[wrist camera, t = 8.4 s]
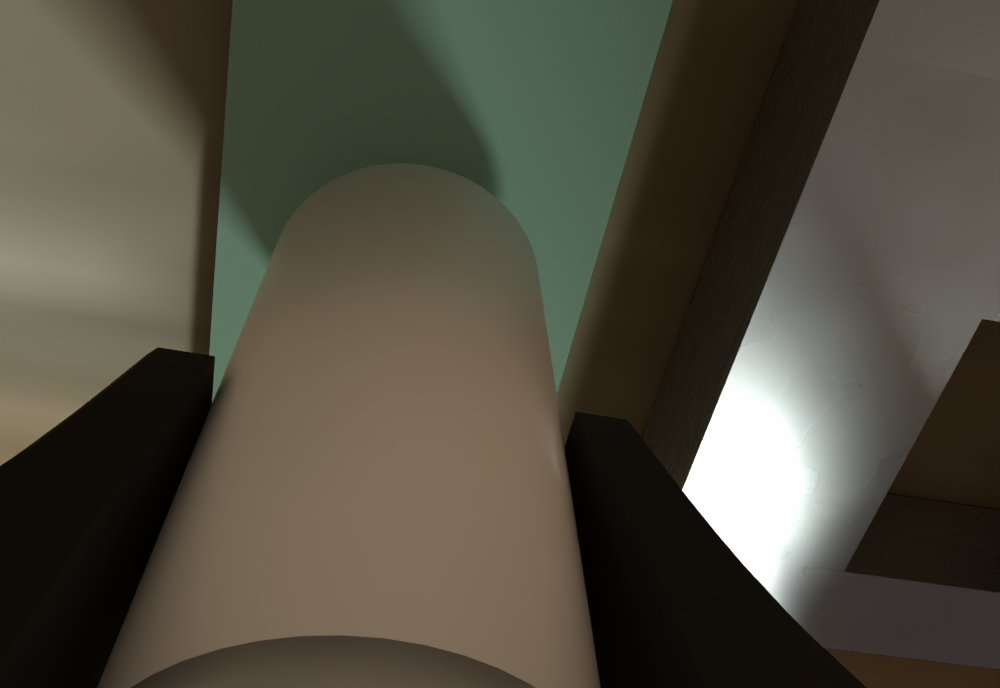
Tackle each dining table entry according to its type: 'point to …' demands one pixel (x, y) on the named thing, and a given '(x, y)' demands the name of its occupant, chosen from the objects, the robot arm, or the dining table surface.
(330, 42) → the mat
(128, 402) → the robot arm
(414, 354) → the cylinder
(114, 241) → the dining table surface
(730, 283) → the housing
